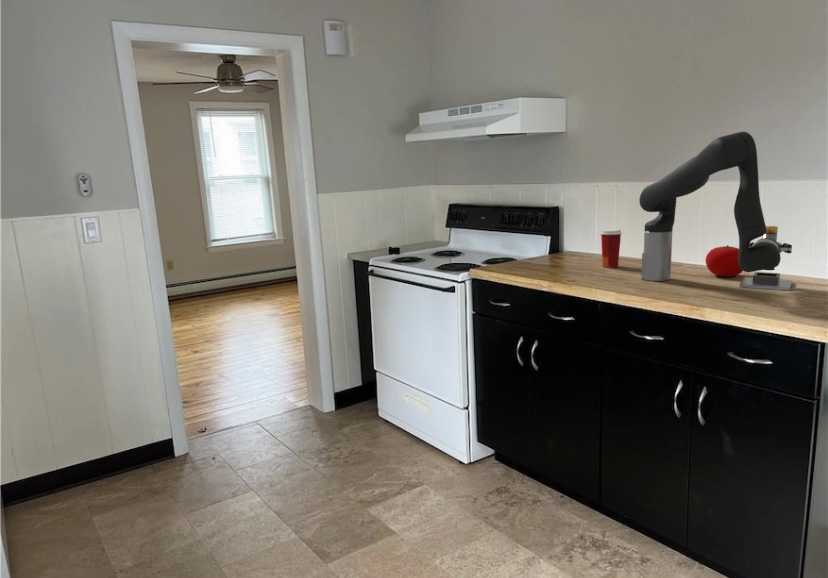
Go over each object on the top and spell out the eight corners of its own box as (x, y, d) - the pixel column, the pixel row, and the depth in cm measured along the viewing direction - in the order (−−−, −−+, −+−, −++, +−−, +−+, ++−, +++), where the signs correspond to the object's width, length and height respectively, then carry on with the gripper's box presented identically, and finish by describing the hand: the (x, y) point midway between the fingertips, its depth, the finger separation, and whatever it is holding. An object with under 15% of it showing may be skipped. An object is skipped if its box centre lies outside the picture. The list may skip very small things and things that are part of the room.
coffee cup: (623, 265, 249) (624, 229, 246) (617, 268, 242) (618, 231, 239) (602, 264, 253) (603, 228, 251) (596, 267, 247) (597, 230, 244)
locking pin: (759, 270, 199) (762, 227, 196) (761, 268, 202) (763, 226, 199) (774, 270, 196) (777, 227, 194) (775, 268, 200) (778, 226, 197)
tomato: (750, 278, 212) (752, 247, 210) (709, 279, 214) (711, 248, 212) (739, 273, 223) (741, 243, 221) (701, 273, 226) (702, 243, 224)
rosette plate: (739, 287, 199) (739, 276, 198) (744, 279, 210) (745, 270, 209) (789, 290, 191) (790, 279, 190) (792, 282, 202) (793, 272, 202)
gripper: (792, 239, 182) (796, 234, 195) (739, 238, 190) (746, 233, 203) (790, 264, 183) (794, 257, 197) (737, 262, 191) (744, 255, 205)
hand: (769, 245), depth 200 cm, fingers closed on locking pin, 4 cm apart
